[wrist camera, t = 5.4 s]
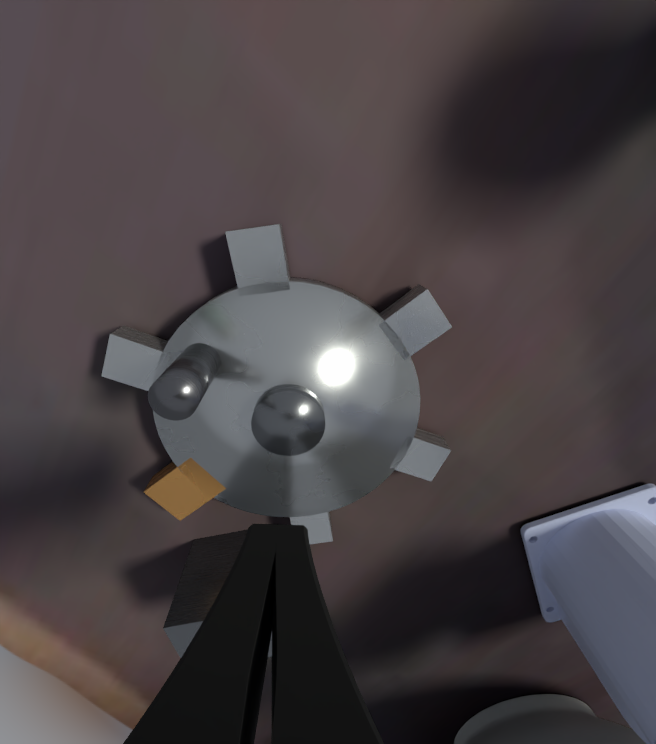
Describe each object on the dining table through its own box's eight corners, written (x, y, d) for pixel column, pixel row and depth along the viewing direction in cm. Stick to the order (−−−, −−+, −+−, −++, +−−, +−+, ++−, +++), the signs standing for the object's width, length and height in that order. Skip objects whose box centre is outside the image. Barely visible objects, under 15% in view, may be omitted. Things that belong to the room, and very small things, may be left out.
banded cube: (291, 563, 22) (287, 658, 18) (212, 578, 22) (187, 675, 18) (278, 523, 21) (269, 613, 16) (194, 538, 21) (161, 632, 16)
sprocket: (497, 254, 15) (571, 268, 11) (413, 535, 21) (440, 615, 17) (98, 197, 14) (3, 188, 9) (130, 519, 20) (81, 602, 16)
